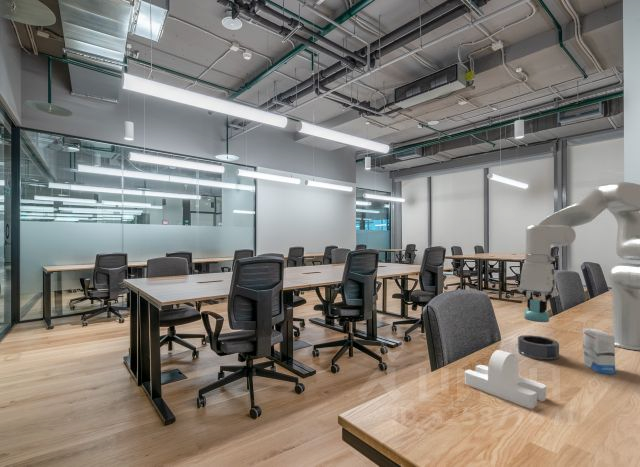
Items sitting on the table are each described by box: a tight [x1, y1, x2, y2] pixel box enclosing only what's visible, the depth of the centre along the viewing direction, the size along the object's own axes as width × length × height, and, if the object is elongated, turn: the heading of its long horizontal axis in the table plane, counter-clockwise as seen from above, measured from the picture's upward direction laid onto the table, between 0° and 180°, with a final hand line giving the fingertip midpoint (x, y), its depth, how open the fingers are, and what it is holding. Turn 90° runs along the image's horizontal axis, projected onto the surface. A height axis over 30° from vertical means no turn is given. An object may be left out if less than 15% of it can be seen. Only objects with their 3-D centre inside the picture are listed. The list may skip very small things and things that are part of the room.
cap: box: [523, 298, 550, 323], centre depth 122 cm, size 8×8×7 cm
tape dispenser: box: [464, 349, 547, 409], centre depth 94 cm, size 10×18×11 cm, turn 36°
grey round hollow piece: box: [517, 334, 560, 362], centre depth 122 cm, size 12×12×5 cm
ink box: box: [582, 328, 616, 375], centre depth 109 cm, size 9×5×12 cm, turn 168°
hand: (536, 310), depth 122 cm, fingers closed on cap, 3 cm apart
